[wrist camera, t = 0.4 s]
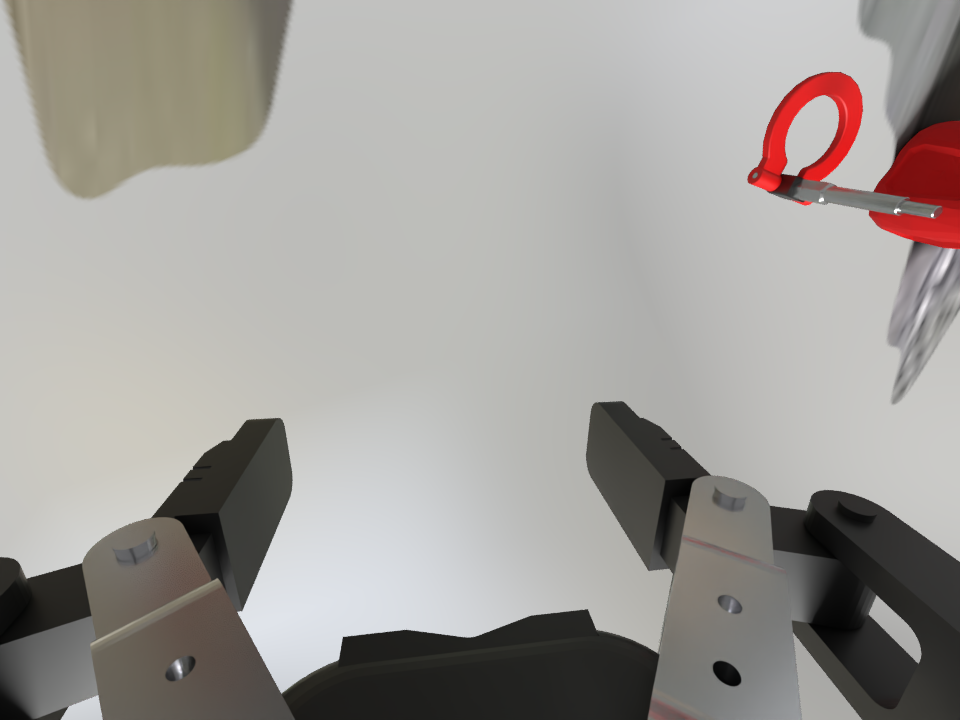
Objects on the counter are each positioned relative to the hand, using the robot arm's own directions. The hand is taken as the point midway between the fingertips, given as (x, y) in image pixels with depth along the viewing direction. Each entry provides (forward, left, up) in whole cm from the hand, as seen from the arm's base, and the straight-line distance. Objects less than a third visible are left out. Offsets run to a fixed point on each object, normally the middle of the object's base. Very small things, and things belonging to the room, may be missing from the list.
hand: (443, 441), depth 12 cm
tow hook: (+19, +28, -27) cm, 43 cm away
